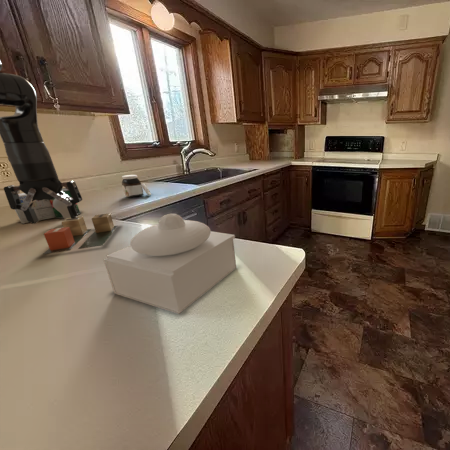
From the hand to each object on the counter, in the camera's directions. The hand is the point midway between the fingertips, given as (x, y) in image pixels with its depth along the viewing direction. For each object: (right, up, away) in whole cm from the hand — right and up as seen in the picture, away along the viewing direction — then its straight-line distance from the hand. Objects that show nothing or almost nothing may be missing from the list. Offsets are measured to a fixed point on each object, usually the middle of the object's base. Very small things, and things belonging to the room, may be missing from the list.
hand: (55, 220), depth 69 cm
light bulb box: (-37, +1, +31) cm, 48 cm away
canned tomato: (-29, +2, +35) cm, 46 cm away
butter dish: (+42, -14, -14) cm, 47 cm away
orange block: (0, -8, +2) cm, 8 cm away
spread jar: (-21, +14, +67) cm, 72 cm away
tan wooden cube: (-4, -4, +12) cm, 13 cm away
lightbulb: (-18, -1, +24) cm, 30 cm away
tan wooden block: (+2, -3, +15) cm, 15 cm away
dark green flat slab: (+1, -6, +8) cm, 11 cm away
